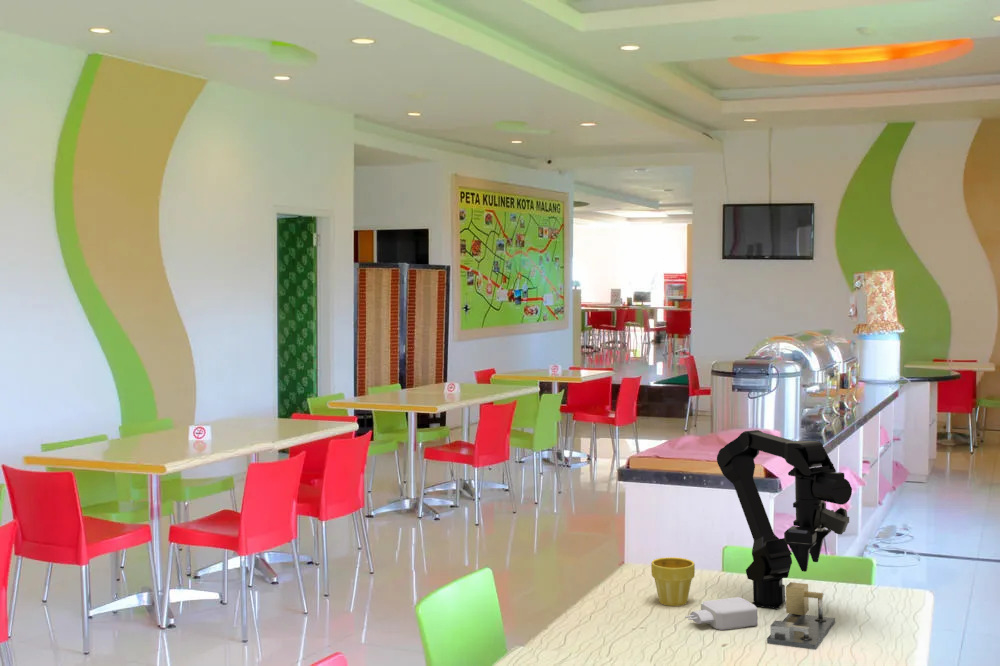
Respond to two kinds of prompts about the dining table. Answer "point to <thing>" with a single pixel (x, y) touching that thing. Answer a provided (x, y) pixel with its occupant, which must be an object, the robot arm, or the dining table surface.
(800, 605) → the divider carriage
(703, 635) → the dining table surface
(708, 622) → the charger
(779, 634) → the dividers base
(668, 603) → the plant pot
